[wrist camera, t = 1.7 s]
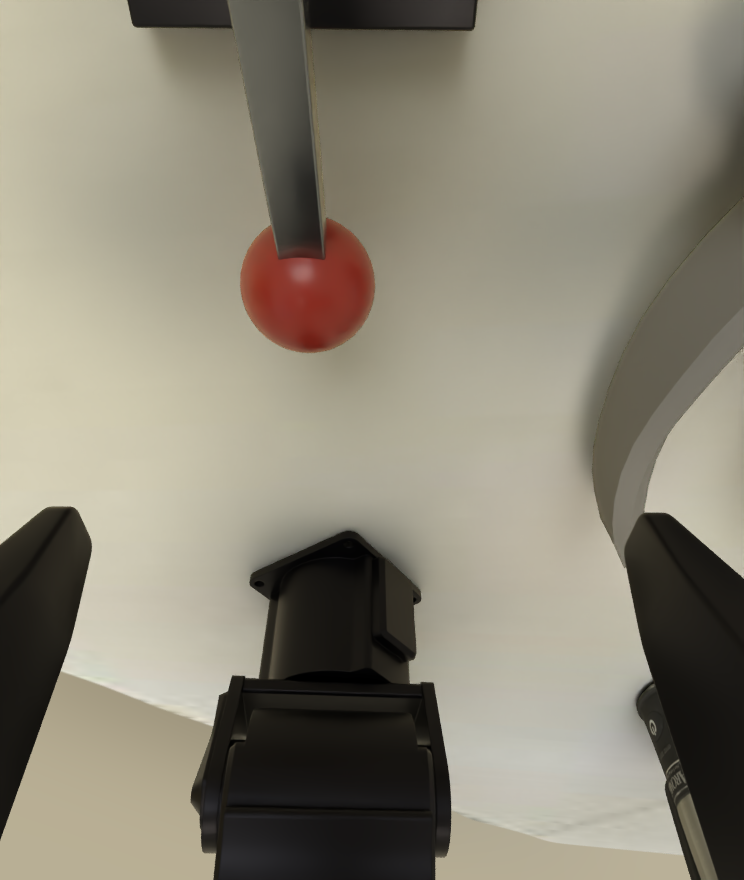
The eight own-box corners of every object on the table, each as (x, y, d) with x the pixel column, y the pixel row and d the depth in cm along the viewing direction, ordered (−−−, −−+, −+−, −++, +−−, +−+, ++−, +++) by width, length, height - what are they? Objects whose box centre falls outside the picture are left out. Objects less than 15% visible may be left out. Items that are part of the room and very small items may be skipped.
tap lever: (374, 276, 18) (374, 377, 16) (257, 275, 18) (247, 377, 16) (397, -913, 5) (408, -915, 3) (-43, -923, 5) (-219, -930, 3)
